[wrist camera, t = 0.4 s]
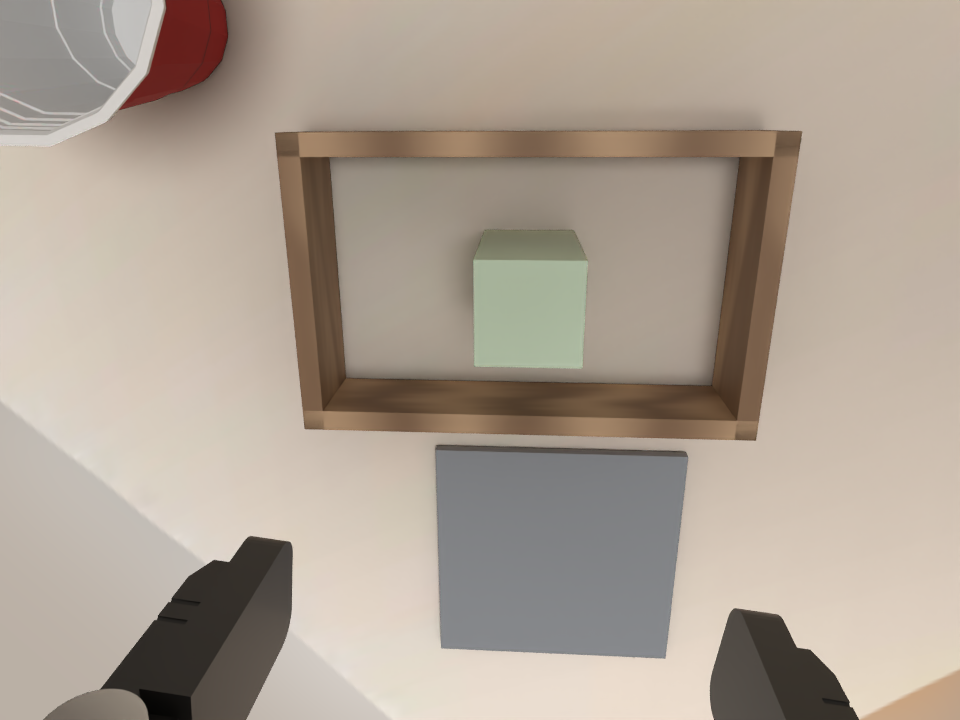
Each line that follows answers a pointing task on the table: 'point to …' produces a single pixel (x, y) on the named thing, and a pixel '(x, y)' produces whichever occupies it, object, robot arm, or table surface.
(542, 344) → the sage block
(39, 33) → the plastic cup
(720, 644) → the robot arm
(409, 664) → the table surface
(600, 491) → the slate mat
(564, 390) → the wooden frame
